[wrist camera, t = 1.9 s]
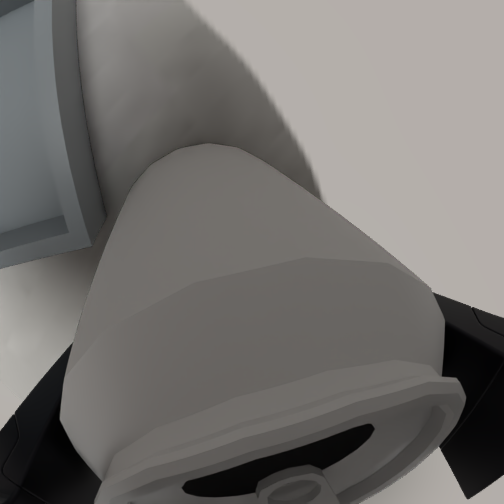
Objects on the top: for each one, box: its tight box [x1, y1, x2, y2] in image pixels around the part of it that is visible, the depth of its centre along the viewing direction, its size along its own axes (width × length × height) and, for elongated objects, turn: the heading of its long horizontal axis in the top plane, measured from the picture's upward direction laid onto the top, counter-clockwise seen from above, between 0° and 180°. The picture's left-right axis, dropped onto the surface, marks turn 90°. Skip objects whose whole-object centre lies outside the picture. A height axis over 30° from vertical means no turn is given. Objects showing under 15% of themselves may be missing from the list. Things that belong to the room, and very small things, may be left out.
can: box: [60, 143, 466, 504], centre depth 9 cm, size 8×8×12 cm
